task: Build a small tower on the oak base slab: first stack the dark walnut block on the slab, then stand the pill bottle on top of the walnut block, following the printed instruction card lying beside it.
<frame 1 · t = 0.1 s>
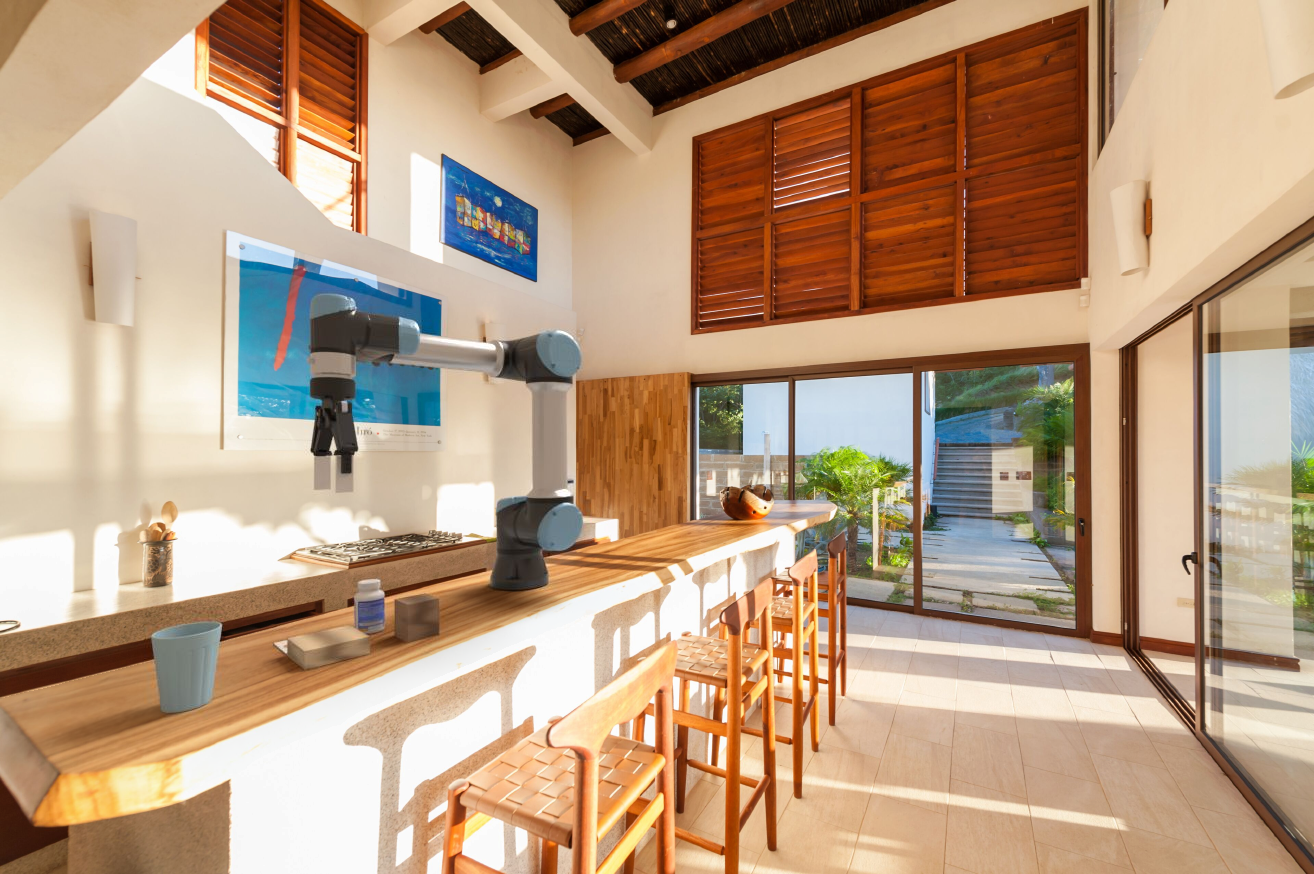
hand: (332, 491, 108), 28 cm above the worktop, fingers open, 13 cm apart
cup: (187, 705, 80), on the worktop
instruction card: (310, 641, 106), on the worktop
oak base slab: (328, 654, 99), on the worktop
pill bottle: (369, 631, 113), on the worktop
walnut block: (417, 635, 110), on the worktop
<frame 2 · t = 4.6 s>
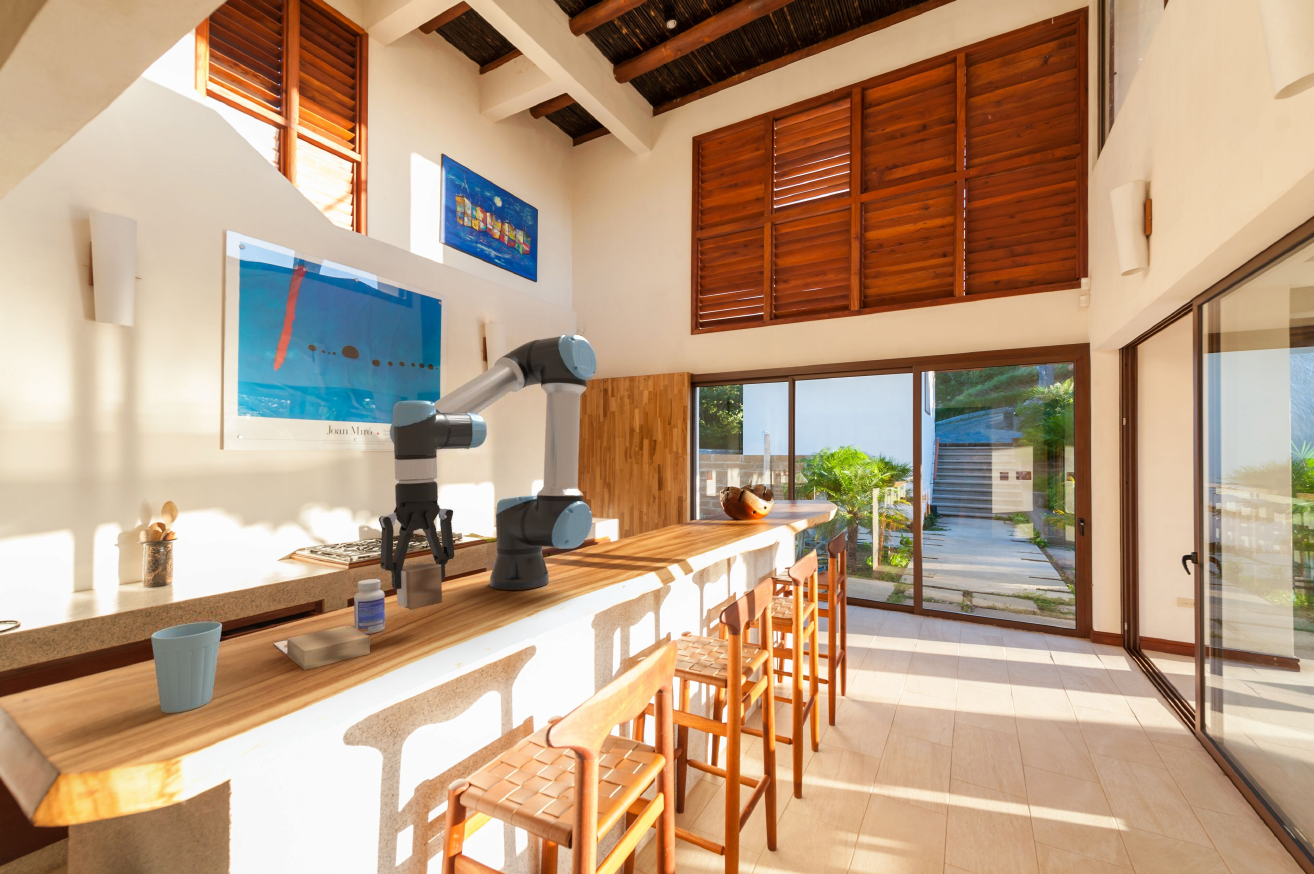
hand: (419, 600, 110), 6 cm above the worktop, fingers closed on walnut block, 6 cm apart
walnut block: (419, 603, 110), point 6 cm above the worktop, touching gripper
everything else where it was.
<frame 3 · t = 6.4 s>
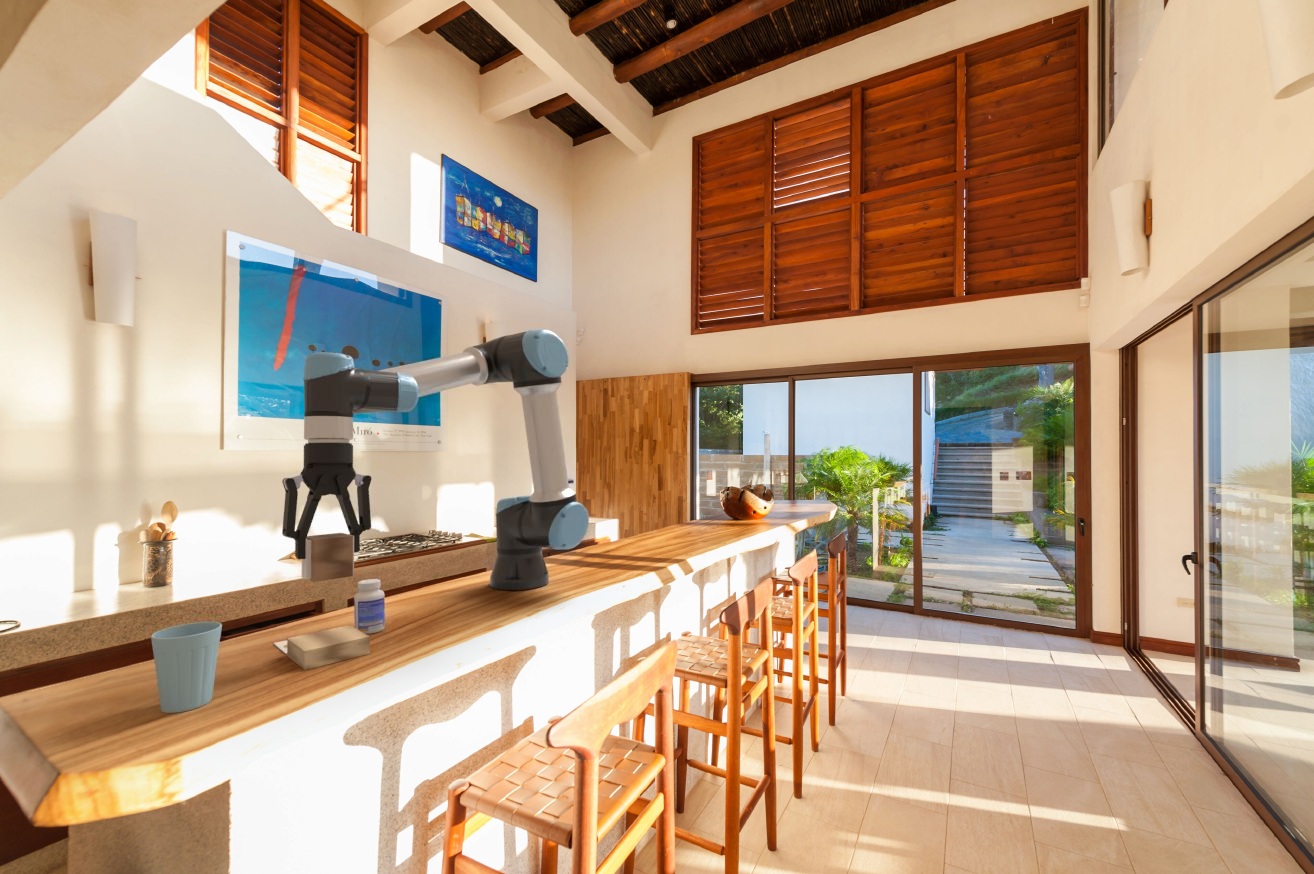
hand: (328, 574, 100), 14 cm above the worktop, fingers closed on walnut block, 6 cm apart
walnut block: (328, 576, 100), point 14 cm above the worktop, touching gripper
everything else where it was.
when the fingers open (3 cm above the worktop, at t = 8.5 s): walnut block stays where it is, resting on oak base slab.
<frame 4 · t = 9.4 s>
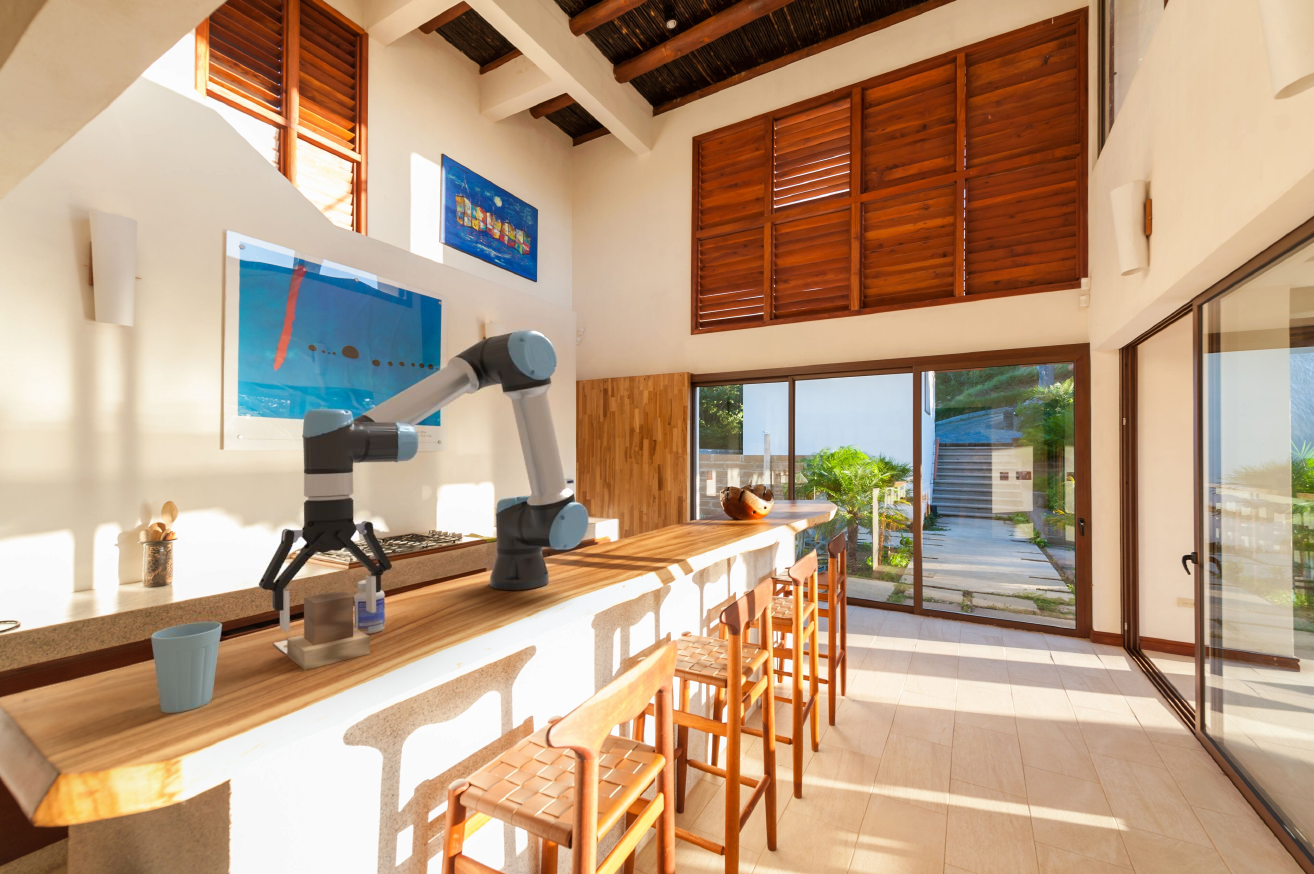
hand: (330, 620, 100), 6 cm above the worktop, fingers open, 13 cm apart
walnut block: (328, 637, 100), point 3 cm above the worktop, touching oak base slab
everything else where it was.
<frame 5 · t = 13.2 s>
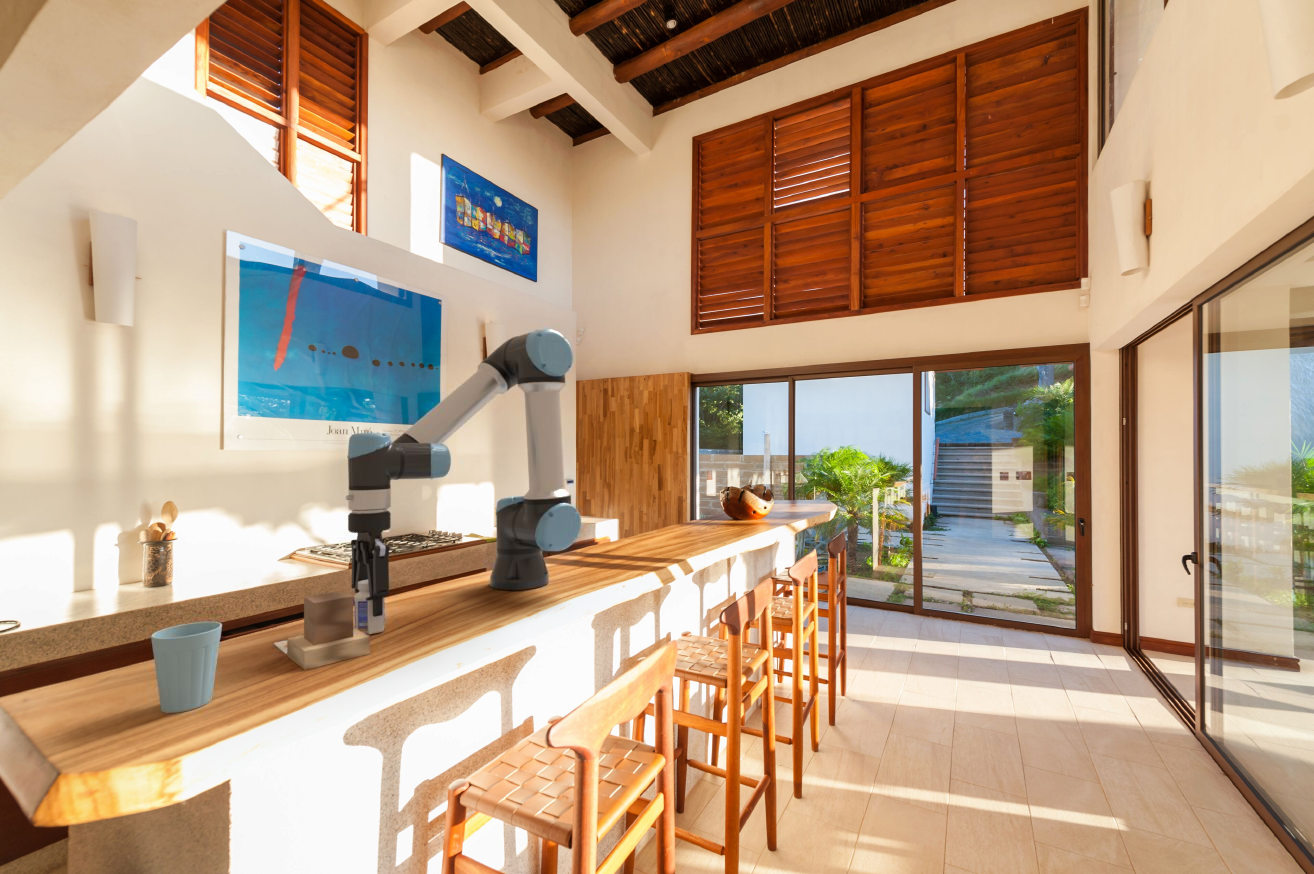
hand: (369, 628, 113), 0 cm above the worktop, fingers closed on pill bottle, 5 cm apart
pill bottle: (369, 631, 113), on the worktop, touching gripper
everything else where it was.
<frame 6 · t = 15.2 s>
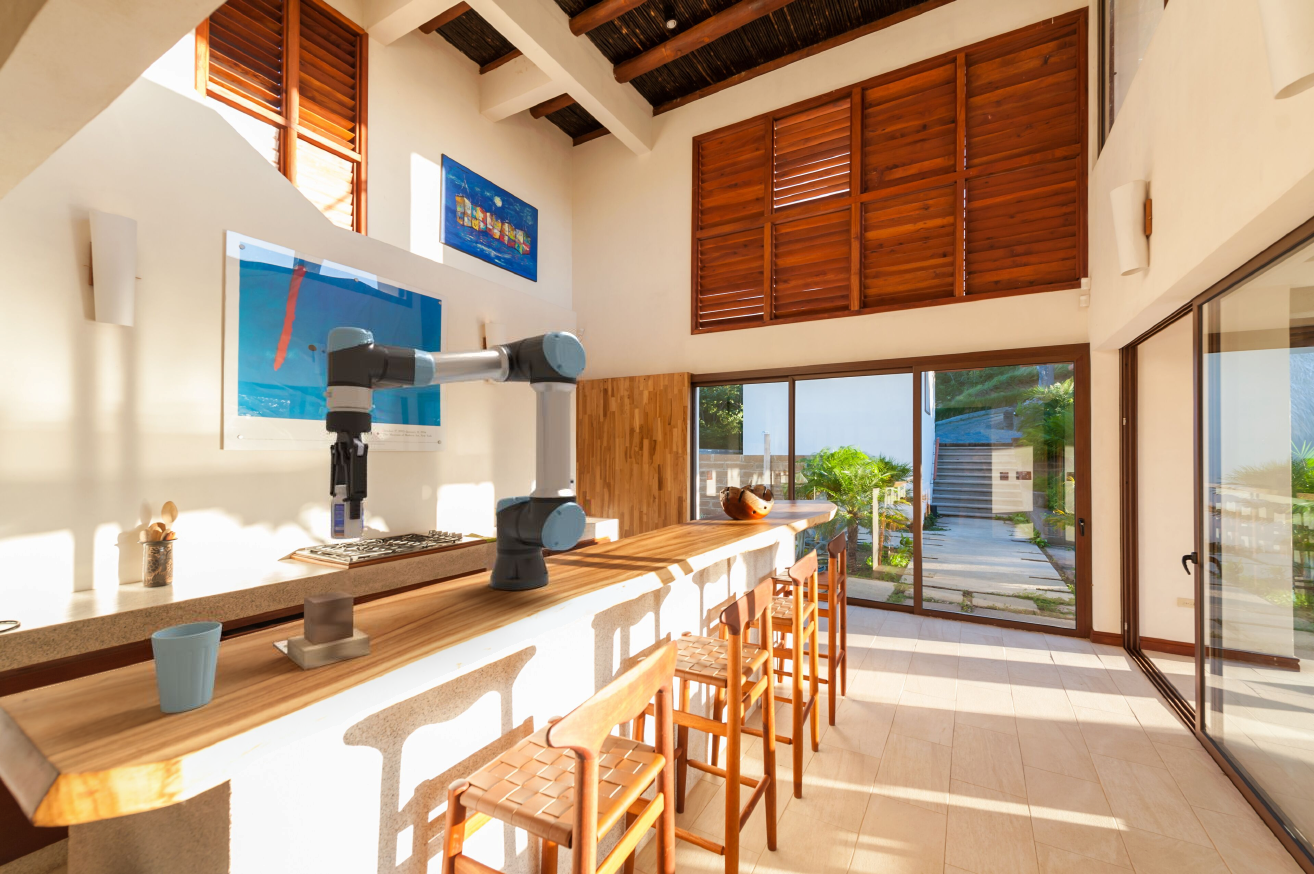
hand: (347, 535, 106), 20 cm above the worktop, fingers closed on pill bottle, 5 cm apart
pill bottle: (346, 538, 106), point 19 cm above the worktop, touching gripper
everything else where it was.
when the fingers open (12 cm above the worktop, at t = 17.5 s): pill bottle drops 1 cm, resting on walnut block.
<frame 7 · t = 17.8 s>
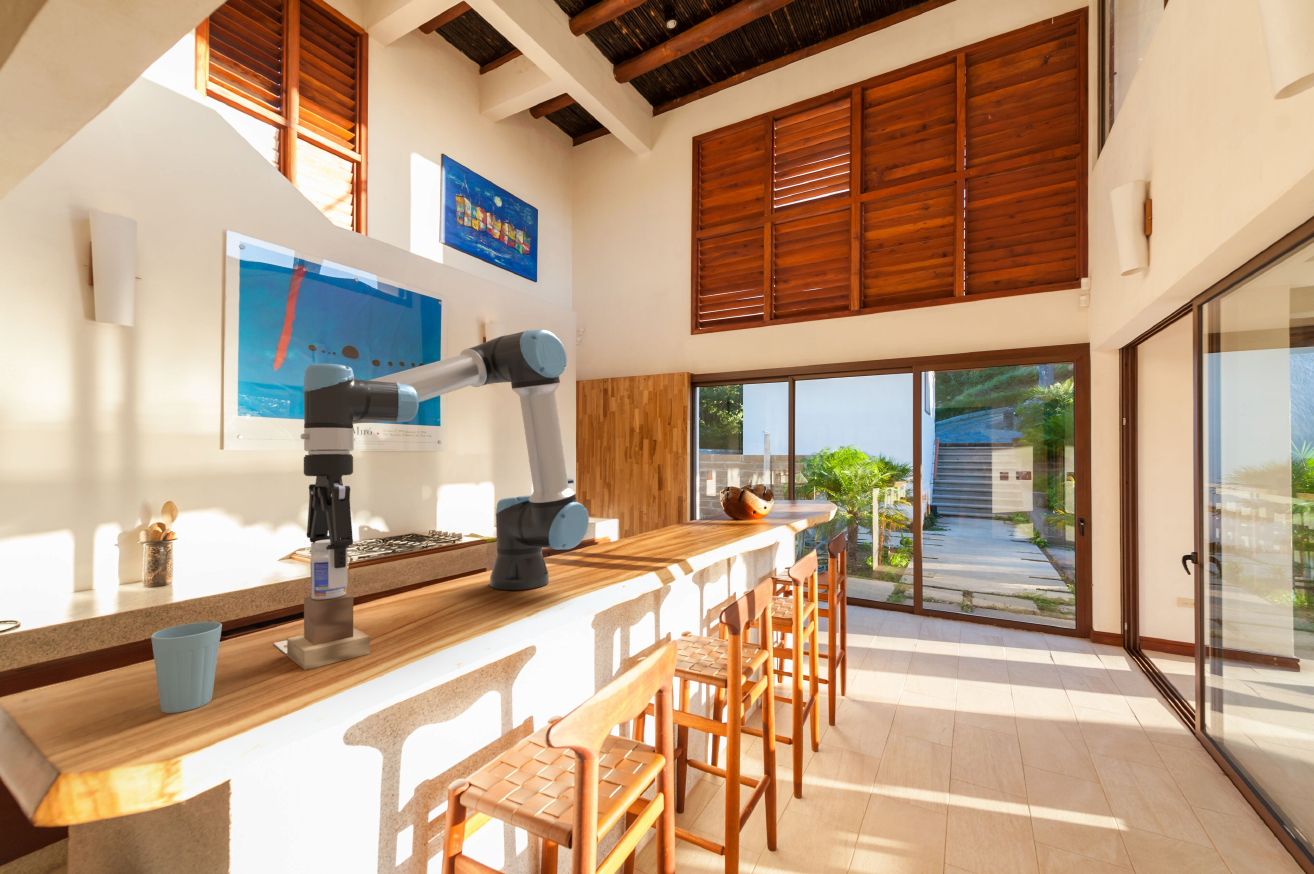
hand: (328, 582, 100), 12 cm above the worktop, fingers open, 9 cm apart
pill bottle: (328, 597, 100), point 10 cm above the worktop, touching walnut block
walnut block: (328, 637, 100), point 3 cm above the worktop, touching oak base slab, pill bottle
everything else where it was.
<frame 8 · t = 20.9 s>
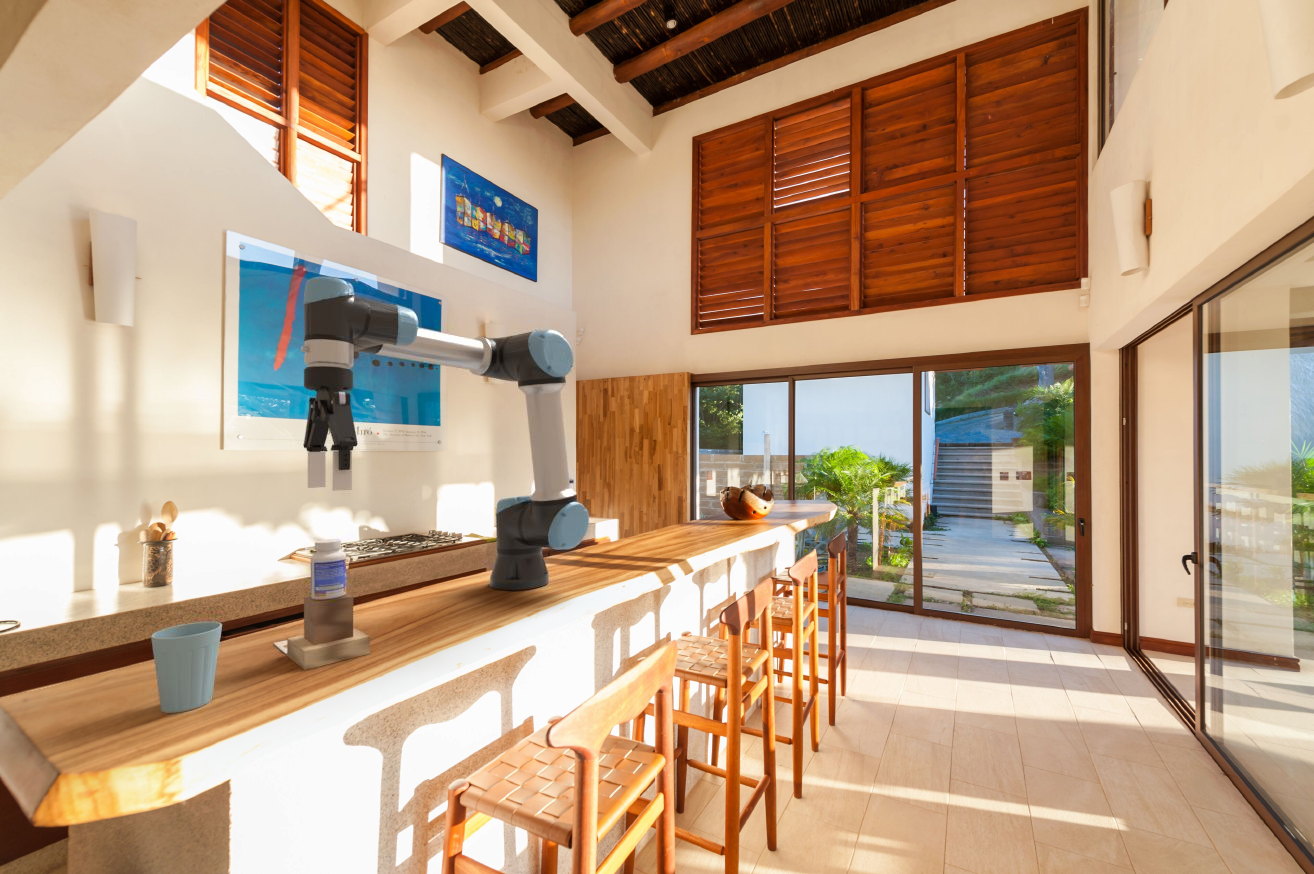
hand: (328, 488, 100), 29 cm above the worktop, fingers open, 13 cm apart
nothing on the worktop moved.
at the end: walnut block inside the target area on the oak base slab (0.1 cm from its centre), point 3.0 cm above the oak base slab's base; pill bottle 0.0 cm off-centre on the walnut block, point 6.8 cm above the walnut block's base; pill bottle tilted 0° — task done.
